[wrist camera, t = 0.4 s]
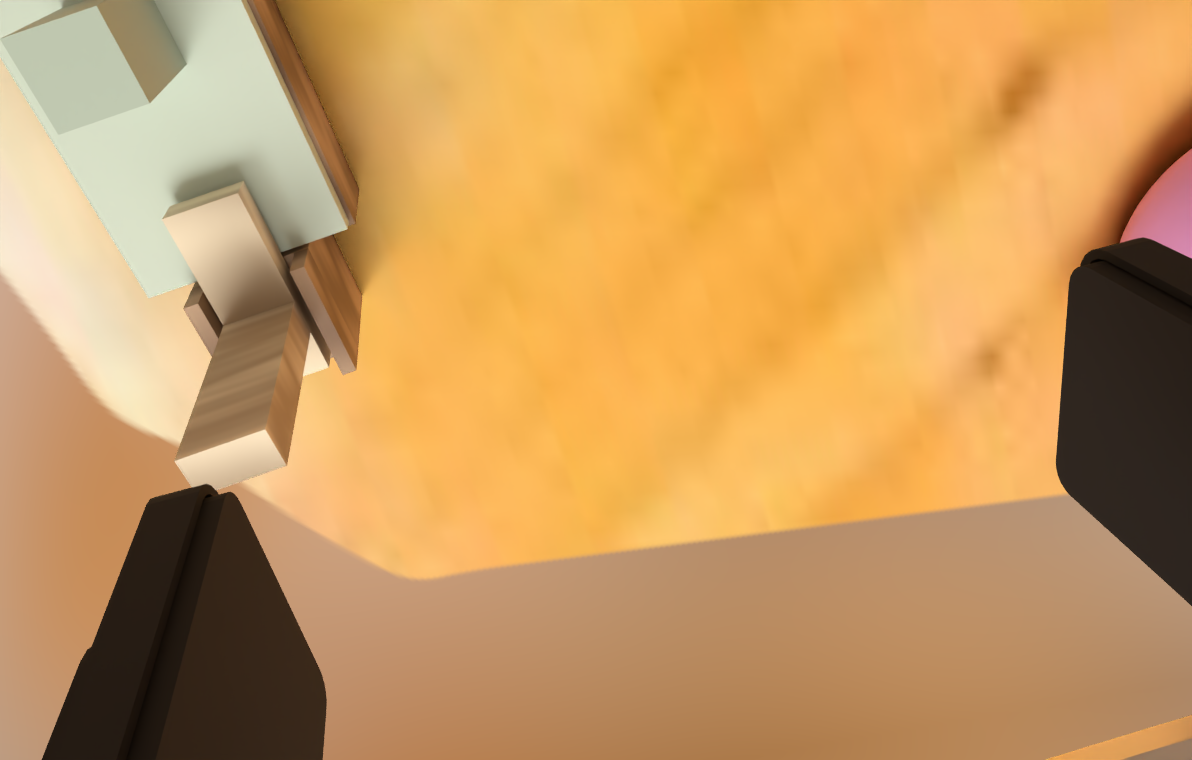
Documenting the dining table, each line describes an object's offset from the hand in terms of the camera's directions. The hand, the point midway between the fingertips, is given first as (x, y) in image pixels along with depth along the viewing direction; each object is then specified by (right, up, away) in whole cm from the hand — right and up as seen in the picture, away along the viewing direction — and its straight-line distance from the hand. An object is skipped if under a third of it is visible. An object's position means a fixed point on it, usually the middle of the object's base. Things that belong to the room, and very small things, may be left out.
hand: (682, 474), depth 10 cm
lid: (-17, +12, +25) cm, 33 cm away
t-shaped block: (-15, +5, +28) cm, 32 cm away
